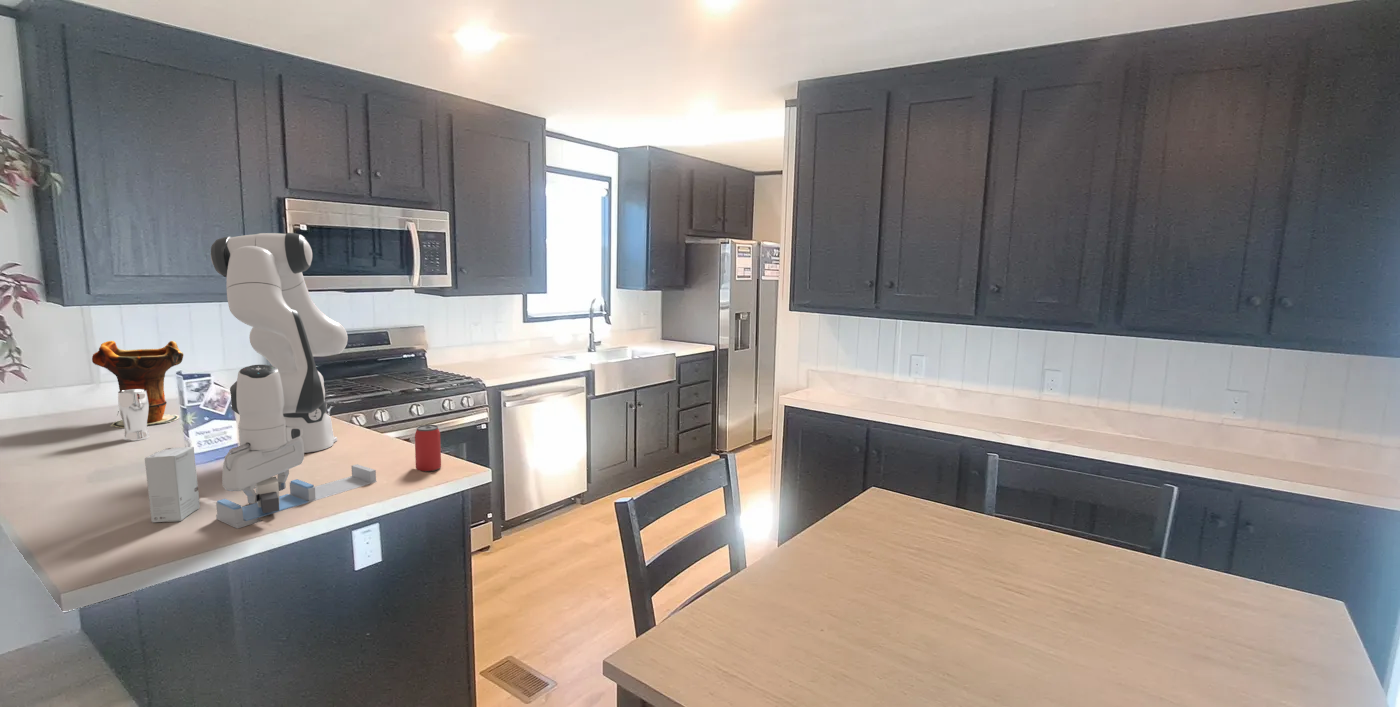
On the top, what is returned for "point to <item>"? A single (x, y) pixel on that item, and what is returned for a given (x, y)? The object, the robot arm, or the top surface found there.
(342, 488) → the slider rail
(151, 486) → the skincare box
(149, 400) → the decorative vase
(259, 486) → the grey post with collar
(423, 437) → the beer can
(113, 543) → the top surface
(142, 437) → the beer glass
